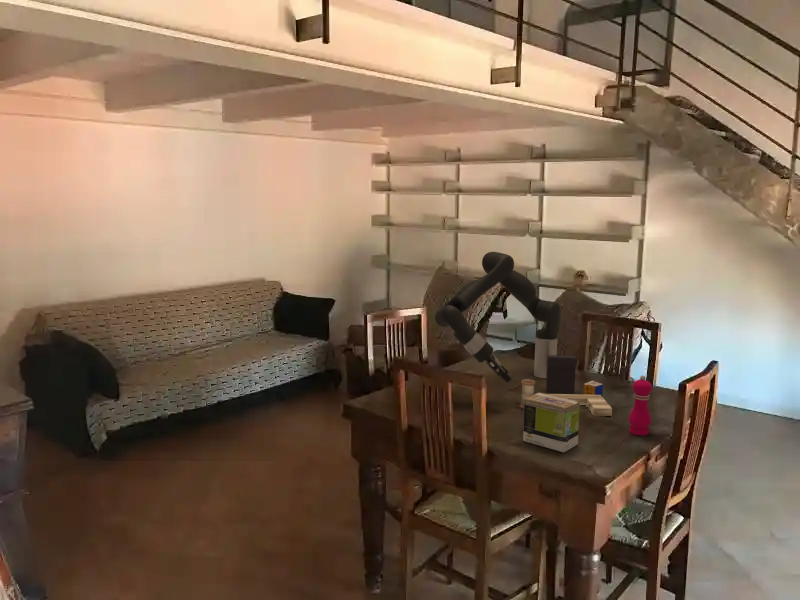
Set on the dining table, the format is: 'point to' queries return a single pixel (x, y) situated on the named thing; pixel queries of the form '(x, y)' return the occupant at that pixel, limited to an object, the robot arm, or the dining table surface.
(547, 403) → the tea box
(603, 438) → the dining table surface
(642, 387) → the pepper mill
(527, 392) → the spool
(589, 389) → the puzzle toy
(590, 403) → the notch board
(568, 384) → the black rectangular block
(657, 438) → the dining table surface
